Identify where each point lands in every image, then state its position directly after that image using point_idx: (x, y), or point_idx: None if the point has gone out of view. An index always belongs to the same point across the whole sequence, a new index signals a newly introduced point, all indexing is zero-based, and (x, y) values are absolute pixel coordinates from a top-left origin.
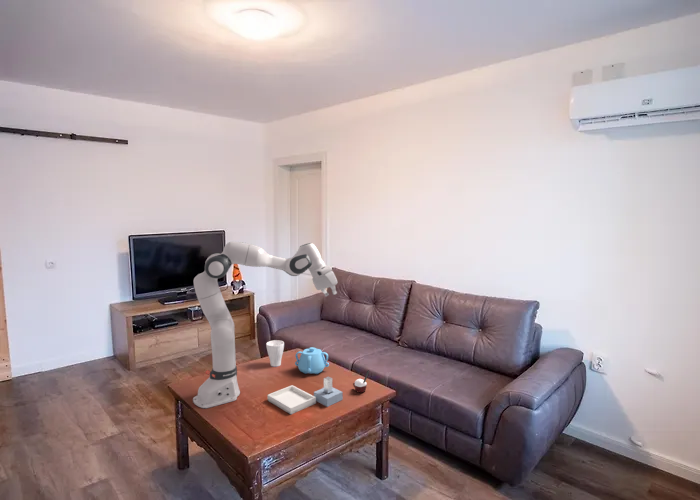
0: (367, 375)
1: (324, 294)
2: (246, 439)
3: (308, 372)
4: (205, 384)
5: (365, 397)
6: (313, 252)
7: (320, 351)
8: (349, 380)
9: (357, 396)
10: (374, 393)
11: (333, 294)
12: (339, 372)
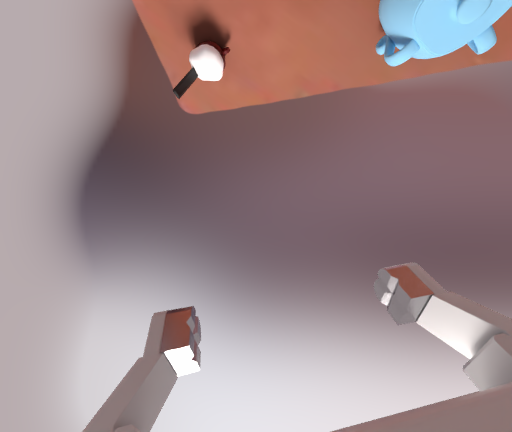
0: (185, 87)
1: (436, 283)
2: None
3: None
4: None
5: (174, 44)
6: None
7: (424, 43)
8: (280, 65)
9: (185, 26)
10: None
11: (184, 309)
12: (340, 69)
